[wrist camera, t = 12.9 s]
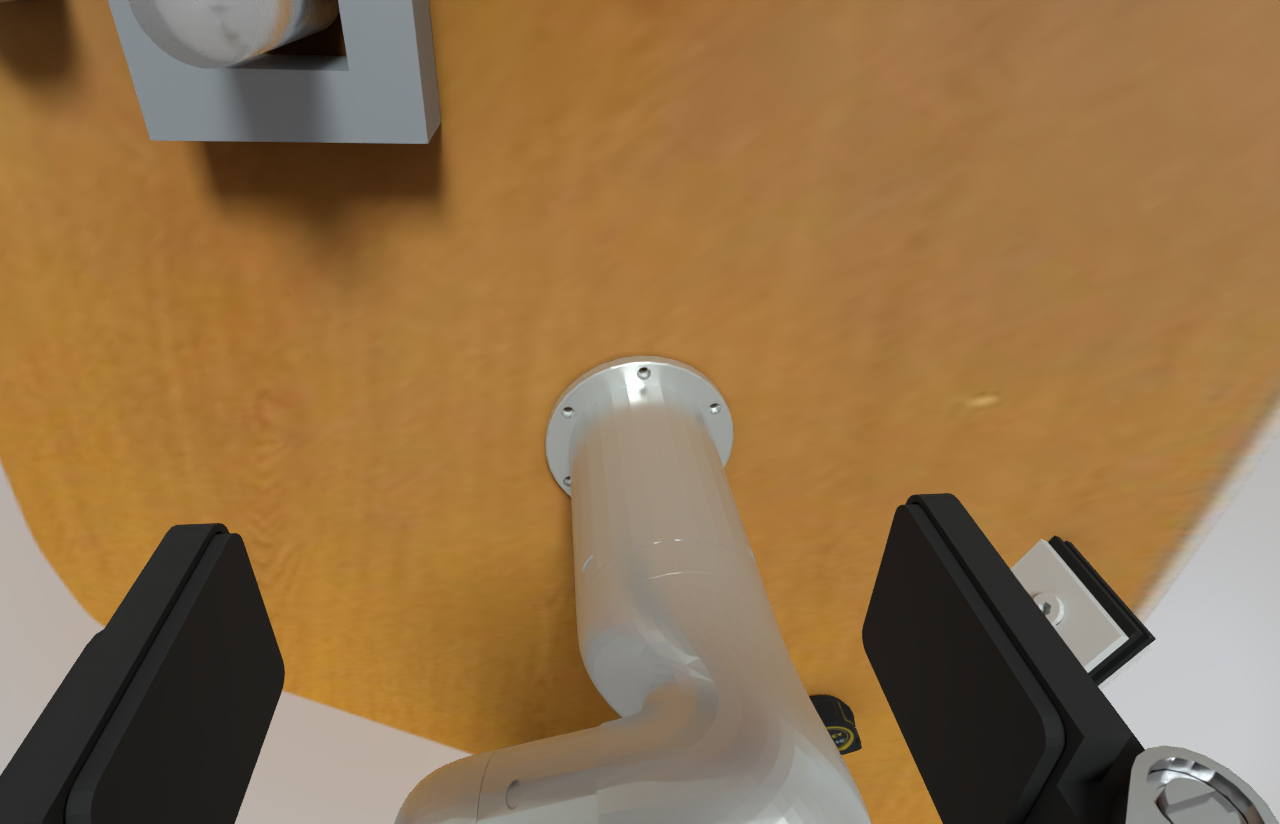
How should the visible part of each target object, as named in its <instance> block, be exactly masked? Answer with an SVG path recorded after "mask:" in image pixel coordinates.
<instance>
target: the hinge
mask: <svg viewBox="0 0 1280 824" xmlns="http://www.w3.org/2000/svg"><path fill="white" fill-rule="evenodd" d="M1010 570H1011V571H1012V572H1013V574H1014V575H1015V576H1016V578H1017V579H1018V580H1019V582H1020V583H1021V584H1022V586H1023V587H1024V589H1025V590H1026V591H1027V592H1028V593H1029V595H1030V596H1031V597H1032V599H1033V600H1034V601H1035V603H1036V604H1037V605H1038V607H1039V608H1040V609H1041V611H1042V612H1043V614H1044V615H1045V616H1046V618H1047V619H1048V620H1049V622H1050V623H1051V624H1052V626H1053V627H1054V628H1055V630H1056V631H1057V632H1058V634H1059V635H1060V636H1061V638H1062V639H1063V640H1064V642H1065V643H1066V644H1067V646H1068V647H1069V648H1070V650H1071V651H1072V652H1073V654H1074V655H1075V656H1076V658H1077V659H1078V660H1079V662H1080V663H1081V665H1082V666H1083V667H1084V669H1085V670H1086V671H1087V673H1088V674H1089V675H1090V677H1091V678H1092V679H1093V681H1094V682H1095V683H1096V685H1097V686H1098V687H1099V689H1100V690H1102V689H1103V688H1104V687H1106V686H1107V685H1108V684H1109V683H1111V682H1112V681H1113V680H1114V679H1116V678H1117V677H1118V676H1119V675H1120V674H1122V673H1123V672H1124V671H1125V670H1127V669H1128V668H1129V667H1130V666H1132V665H1133V664H1134V663H1135V662H1136V661H1138V660H1139V659H1140V658H1141V657H1142V656H1144V655H1145V654H1146V653H1147V652H1149V651H1150V650H1151V648H1150V646H1149V644H1150V643H1152V642H1153V641H1154V640H1155V637H1154V636H1153V635H1152V634H1151V633H1150V632H1149V631H1148V629H1147V628H1146V627H1145V626H1144V625H1143V624H1142V623H1141V621H1140V620H1139V619H1138V618H1137V617H1136V616H1135V615H1134V614H1133V612H1132V611H1131V610H1130V609H1129V608H1128V607H1127V606H1126V604H1125V603H1124V602H1123V601H1122V600H1121V599H1120V598H1119V597H1118V595H1117V594H1116V593H1115V592H1114V591H1113V590H1112V589H1111V587H1110V586H1109V585H1108V584H1107V583H1106V582H1105V581H1104V579H1103V578H1102V577H1101V576H1100V575H1099V574H1098V573H1097V572H1096V570H1095V569H1094V568H1093V567H1092V566H1091V565H1090V564H1089V562H1088V561H1087V560H1086V559H1085V558H1084V557H1083V556H1082V555H1081V553H1080V552H1079V551H1078V550H1077V549H1076V548H1075V547H1074V545H1073V544H1072V543H1071V542H1068V541H1065V542H1063V541H1062V540H1061V538H1060V537H1057V536H1054V537H1053V538H1052V539H1051V540H1050V541H1049V542H1047V541H1044V540H1042V539H1041V540H1040V541H1039V542H1038V543H1037V544H1036V545H1035V546H1034V547H1033V548H1032V549H1030V550H1029V551H1028V552H1027V553H1026V554H1025V555H1024V556H1023V557H1022V558H1021V559H1020V560H1019V561H1018V562H1017V563H1016V564H1015V565H1014V566H1013V567H1012V568H1011V569H1010Z"/></svg>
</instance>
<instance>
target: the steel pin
mask: <svg viewBox="0 0 1280 824" xmlns="http://www.w3.org/2000/svg"><path fill="white" fill-rule="evenodd" d="M128 1H129V4H130V7H131V10H132V12H133V14H134V16H135V18H136V20H137V22H138V23H139V25H140V26H141V28H142V29H143V31H144V32H145V33H146V35H147V36H148V37H149V38H150V39H151V40H152V41H153V42H154V43H155V44H156V45H157V46H158V47H159V48H160V49H162V50H163V51H164V52H166V53H167V54H168V55H170V56H171V57H173V58H175V59H176V60H179V61H181V62H183V63H185V64H188V65H191V66H194V67H199V68H206V69H217V68H222V67H226V66H229V65H232V64H235V63H237V62H240V61H243V60H245V59H248V58H251V57H253V56H256V55H259V54H261V53H264V52H267V51H269V50H272V49H275V48H278V47H280V46H283V45H286V44H288V43H291V42H294V41H296V40H299V39H302V38H304V37H307V36H310V35H312V34H315V33H318V32H320V31H323V30H324V29H326V28H328V27H329V26H330V25H331V24H332V23H333V22H334V21H335V19H336V18H337V16H338V14H339V11H340V10H339V4H338V0H128Z"/></svg>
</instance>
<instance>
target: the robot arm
mask: <svg viewBox="0 0 1280 824" xmlns="http://www.w3.org/2000/svg"><path fill="white" fill-rule="evenodd" d="M643 367H645V369H643V370H641V369H640V368H643ZM566 407H570V408H566ZM545 444H546V457H547V461H548V464H549V468H550V471H551V472H552V474H553V476H554V478H555V480H556V482H557V483H558V484H559V485H560V487H561V488H562V489H563V490H564V491H565V492H566V493H567V494H568V495H569V496H570V497H571V504H572V526H573V549H574V572H575V595H576V617H577V634H578V643H579V649H580V654H581V657H582V660H583V663H584V666H585V668H586V671H587V673H588V675H589V677H590V678H591V680H592V682H593V684H594V686H595V687H596V689H597V690H598V691H599V693H600V694H601V695H602V697H603V698H604V699H605V700H606V702H607V703H608V704H609V705H610V706H611V707H612V708H613V709H614V710H615V711H616V712H617V713H618V714H619V715H620V716H621V717H622V718H620V719H616V720H612V721H608V722H604V723H602V724H601V725H600V726H597V727H593V728H588V729H584V730H579V731H575V732H571V733H566V734H562V735H558V736H553V737H549V738H544V739H540V740H536V741H531V742H527V743H522V744H518V745H514V746H509V747H505V748H500V749H496V750H491V751H487V752H483V753H479V754H476V755H472V756H469V757H466V758H463V759H459V760H457V761H454V762H452V763H449V764H447V765H444V766H442V767H441V768H439V769H437V770H435V771H434V772H432V773H431V774H429V775H428V776H427V777H426V778H424V779H423V780H421V781H420V782H419V784H418V785H417V786H416V787H415V788H414V789H413V790H412V791H411V792H410V793H409V795H408V796H407V798H406V800H405V801H404V803H403V805H402V807H401V808H400V810H399V813H398V815H397V817H396V820H395V823H394V824H872V823H871V821H870V818H869V815H868V812H867V809H866V806H865V803H864V801H863V798H862V796H861V794H860V792H859V790H858V788H857V786H856V783H855V781H854V779H853V777H852V775H851V773H850V771H849V769H848V767H847V765H846V763H845V761H844V759H843V758H842V756H841V754H840V752H839V750H838V749H837V747H836V745H835V743H834V741H833V740H832V738H831V736H830V734H829V733H828V731H827V729H826V727H825V725H824V724H823V722H822V720H821V718H820V716H819V715H818V713H817V711H816V709H815V707H814V705H813V704H812V702H811V700H810V698H809V696H808V694H807V692H806V690H805V688H804V686H803V684H802V682H801V680H800V678H799V676H798V673H797V671H796V669H795V667H794V665H793V662H792V660H791V658H790V655H789V653H788V651H787V648H786V646H785V643H784V641H783V638H782V635H781V633H780V630H779V627H778V625H777V622H776V619H775V616H774V614H773V611H772V608H771V605H770V602H769V599H768V596H767V593H766V590H765V588H764V585H763V582H762V580H761V577H760V574H759V570H758V567H757V564H756V561H755V558H754V555H753V552H752V549H751V546H750V544H749V541H748V538H747V535H746V532H745V529H744V526H743V523H742V520H741V517H740V514H739V512H738V509H737V506H736V503H735V500H734V497H733V494H732V491H731V488H730V485H729V482H728V480H727V477H726V474H725V471H724V468H725V466H726V464H727V462H728V460H729V457H730V454H731V450H732V446H733V423H732V419H731V414H730V411H729V409H728V406H727V404H726V401H725V399H724V398H723V396H722V394H721V393H720V391H719V390H718V388H717V387H716V386H715V385H714V384H713V383H712V382H711V381H710V380H709V379H708V378H707V377H706V376H705V375H704V374H702V373H701V372H699V371H698V370H696V369H695V368H693V367H691V366H689V365H687V364H684V363H682V362H679V361H677V360H673V359H668V358H663V357H658V356H633V357H626V358H619V359H616V360H613V361H610V362H607V363H604V364H601V365H599V366H597V367H595V368H593V369H591V370H590V371H588V372H586V373H584V374H583V375H582V376H580V377H579V378H578V379H576V380H575V381H574V382H573V383H571V384H570V385H569V386H568V388H567V389H566V390H565V391H564V392H563V393H562V394H561V396H560V397H559V398H558V400H557V402H556V404H555V405H554V407H553V409H552V411H551V413H550V417H549V420H548V423H547V426H546V439H545ZM862 638H863V645H864V649H865V652H866V654H867V656H868V659H869V661H870V663H871V665H872V668H873V670H874V672H875V674H876V676H877V679H878V681H879V683H880V685H881V687H882V690H883V692H884V694H885V696H886V699H887V701H888V703H889V705H890V707H891V710H892V712H893V714H894V716H895V718H896V721H897V723H898V725H899V727H900V730H901V732H902V734H903V736H904V738H905V741H906V743H907V745H908V747H909V749H910V752H911V754H912V756H913V758H914V761H915V763H916V765H917V767H918V769H919V772H920V774H921V776H922V778H923V780H924V783H925V785H926V787H927V789H928V791H929V794H930V796H931V798H932V800H933V803H934V805H935V807H936V809H937V811H938V814H939V816H940V818H941V820H942V822H943V824H1279V823H1278V821H1277V820H1276V818H1275V816H1274V815H1273V813H1272V812H1271V810H1270V808H1269V807H1268V805H1267V804H1266V802H1264V800H1263V799H1262V798H1261V797H1260V796H1259V795H1258V794H1257V793H1256V792H1255V791H1254V790H1253V788H1252V787H1251V786H1250V785H1249V784H1247V783H1246V782H1245V781H1244V780H1242V779H1241V778H1240V777H1238V776H1237V775H1236V774H1234V773H1233V772H1232V771H1231V770H1229V769H1228V768H1226V767H1224V766H1223V765H1221V764H1219V763H1217V762H1216V761H1214V760H1212V759H1210V758H1208V757H1207V756H1204V755H1201V754H1199V753H1196V752H1193V751H1190V750H1187V749H1185V748H1178V747H1170V746H1159V747H1153V748H1148V749H1146V750H1145V749H1144V748H1143V746H1142V745H1141V744H1140V742H1139V741H1138V740H1137V738H1136V737H1135V736H1134V734H1133V733H1132V732H1131V730H1130V729H1129V728H1128V726H1127V725H1126V724H1125V722H1124V721H1123V720H1122V718H1121V717H1120V716H1119V714H1118V713H1117V712H1116V710H1115V709H1114V707H1113V706H1112V705H1111V703H1110V702H1109V701H1108V700H1107V698H1106V697H1105V695H1104V694H1103V693H1102V691H1101V690H1100V689H1099V687H1098V686H1097V685H1096V683H1095V682H1094V681H1093V679H1092V678H1091V677H1090V675H1089V674H1088V673H1087V671H1086V670H1085V669H1084V667H1083V666H1082V665H1081V663H1080V662H1079V660H1078V659H1077V658H1076V656H1075V655H1074V654H1073V652H1072V651H1071V650H1070V648H1069V647H1068V646H1067V644H1066V643H1065V642H1064V640H1063V639H1062V638H1061V636H1060V635H1059V634H1058V632H1057V631H1056V630H1055V628H1054V627H1053V626H1052V624H1051V623H1050V622H1049V620H1048V619H1047V618H1046V616H1045V615H1044V614H1043V612H1042V611H1041V609H1040V608H1039V607H1038V605H1037V604H1036V603H1035V601H1034V600H1033V599H1032V597H1031V596H1030V595H1029V593H1028V592H1027V591H1026V590H1025V589H1024V587H1023V586H1022V584H1021V583H1020V582H1019V580H1018V579H1017V578H1016V576H1015V575H1014V574H1013V572H1012V571H1011V570H1010V568H1009V567H1008V566H1007V564H1006V563H1005V562H1004V560H1003V559H1002V558H1001V556H1000V555H999V554H998V552H997V551H996V550H995V548H994V547H993V546H992V544H991V543H990V542H989V540H988V539H987V537H986V536H985V535H984V533H983V532H982V531H981V529H980V528H979V527H978V525H977V524H976V523H975V521H974V520H973V519H972V517H971V516H970V515H969V513H968V512H967V511H966V509H965V508H964V507H963V505H962V504H961V503H960V501H959V500H958V499H957V498H956V497H955V496H954V495H952V494H950V493H944V494H920V495H912V496H911V497H910V498H909V499H908V500H907V502H906V505H900V506H899V507H898V508H897V510H896V512H895V515H894V519H893V522H892V526H891V529H890V533H889V536H888V540H887V543H886V547H885V551H884V554H883V558H882V561H881V565H880V568H879V572H878V575H877V579H876V582H875V586H874V589H873V593H872V596H871V600H870V604H869V607H868V611H867V614H866V618H865V621H864V625H863V630H862ZM284 675H285V670H284V663H283V659H282V656H281V653H280V650H279V647H278V644H277V641H276V638H275V635H274V632H273V629H272V626H271V623H270V620H269V617H268V614H267V611H266V608H265V605H264V602H263V599H262V596H261V593H260V590H259V587H258V584H257V581H256V578H255V575H254V572H253V569H252V566H251V563H250V560H249V557H248V554H247V551H246V548H245V545H244V542H243V540H242V538H241V536H240V535H239V534H236V533H229V531H228V529H227V527H226V526H225V525H224V524H220V523H212V524H188V525H176V526H173V527H171V529H170V530H169V531H168V532H167V533H166V535H165V536H164V538H163V539H162V541H161V543H160V544H159V546H158V547H157V549H156V550H155V552H154V553H153V555H152V556H151V558H150V559H149V561H148V563H147V564H146V566H145V567H144V569H143V570H142V572H141V573H140V575H139V576H138V578H137V580H136V581H135V583H134V584H133V586H132V587H131V589H130V590H129V592H128V593H127V595H126V596H125V598H124V600H123V601H122V603H121V604H120V606H119V607H118V609H117V610H116V612H115V613H114V615H113V616H112V618H111V620H110V621H109V623H108V624H107V626H106V627H105V629H104V630H102V631H100V632H99V633H97V634H96V635H95V636H94V637H93V638H92V639H91V641H90V642H89V643H88V644H87V645H86V647H85V648H84V650H83V652H82V653H81V654H80V656H79V657H78V659H77V661H76V662H75V664H74V665H73V667H72V668H71V670H70V671H69V673H68V674H67V676H66V677H65V679H64V680H63V682H62V683H61V685H60V686H59V688H58V689H57V691H56V692H55V694H54V695H53V697H52V699H51V700H50V702H49V703H48V704H47V706H46V708H45V709H44V710H43V712H42V714H41V715H40V717H39V718H38V720H37V721H36V723H35V724H34V726H33V727H32V729H31V730H30V732H29V733H28V735H27V736H26V738H25V739H24V741H23V743H22V744H21V745H20V747H19V748H18V750H17V751H16V753H15V754H14V756H13V758H12V759H11V761H10V762H9V764H8V765H7V767H6V768H5V770H4V771H3V773H2V774H1V776H0V824H234V823H235V821H236V818H237V815H238V812H239V809H240V806H241V804H242V801H243V798H244V796H245V792H246V790H247V787H248V784H249V782H250V779H251V775H252V773H253V770H254V768H255V765H256V762H257V759H258V756H259V754H260V751H261V748H262V745H263V742H264V739H265V737H266V734H267V731H268V728H269V725H270V723H271V720H272V717H273V714H274V711H275V709H276V706H277V703H278V700H279V697H280V695H281V692H282V688H283V684H284Z"/></svg>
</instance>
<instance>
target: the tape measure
mask: <svg viewBox="0 0 1280 824" xmlns="http://www.w3.org/2000/svg"><path fill="white" fill-rule="evenodd" d="M809 698H810V700H811V702H812V704H813V705H814V707H815V709H816V711H817V713H818V715H819V716H820V718H821V720H822V722H823V724H824V725H825V727H826V729H827V731H828V733H829V734H830V736H831V738H832V740H833V741H834V743H835V745H836V747H837V749H838V750H839V752H840V754H841V755H843V754H847V753H851V752H854V751H857V750H859V749H861V748H862V746H861V741H860V738H859V735H858V732H857V729H856V728H855V727H856V726H855V721H854V716H853V713H852V711H851V709H850V707H849V706H848V705H846V704H845V703H844V702H843V701H841V700H840V699H838V698H835V697H834V696H827V695H822V696H814V697H809Z"/></svg>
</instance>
